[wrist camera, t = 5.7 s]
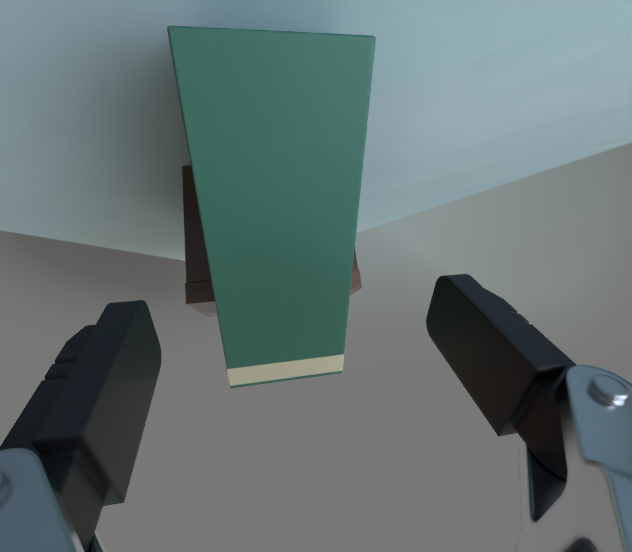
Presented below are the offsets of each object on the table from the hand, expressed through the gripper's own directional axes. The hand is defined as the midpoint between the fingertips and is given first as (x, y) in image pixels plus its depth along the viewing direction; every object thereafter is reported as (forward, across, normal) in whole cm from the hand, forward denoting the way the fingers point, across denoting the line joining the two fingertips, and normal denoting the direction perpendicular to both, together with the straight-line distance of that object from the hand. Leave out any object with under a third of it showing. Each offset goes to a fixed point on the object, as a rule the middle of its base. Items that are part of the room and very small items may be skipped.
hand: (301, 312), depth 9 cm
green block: (+6, 0, 0) cm, 6 cm away
